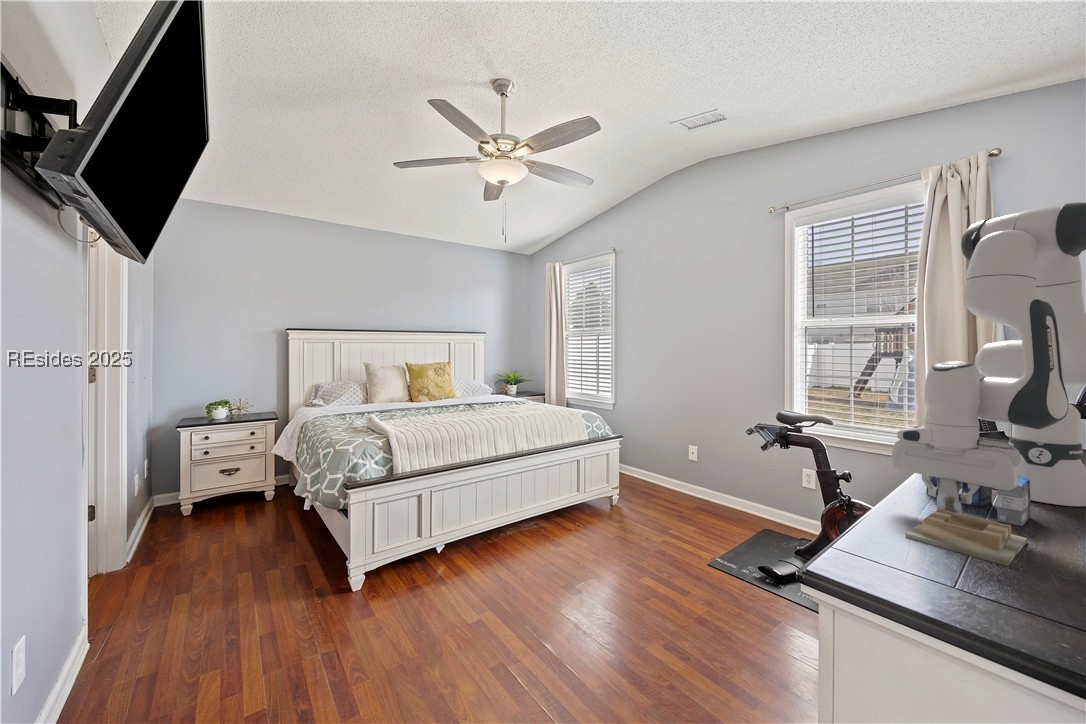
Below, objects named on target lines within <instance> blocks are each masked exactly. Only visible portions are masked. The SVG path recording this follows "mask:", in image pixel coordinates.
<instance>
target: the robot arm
mask: <svg viewBox="0 0 1086 724" xmlns="http://www.w3.org/2000/svg"><path fill="white" fill-rule="evenodd" d="M960 244H961V247H960V248H961V251H962V252H961V253H962V255H963V256H964V257H965V259H966V260H967V261H969V264H968V266H967V270H966V273H965V275H966V276H965V279H964V280H965V282H964V286H963V292H962V293H963V294H962V299H963V300H962V301H963V305H964V306H965V307H966V309H967V310H968V311H969V312H970V313H971V314H972V315H974V316H975V317H977V318H980V319H982V320H985V321H988V322H992V323H994V324H995V323H996V324H999V325H1003V326H1006V327H1009V328H1011V329H1013V330H1015V331H1016V332H1017V333H1018V335H1019V336H1020V339H1008V340H1001V341H1000V340H999V341H995V342H994V341H993V342H989V343H986V344H984V345H983V346H981V347H980V349H979V350H978V351H977V352H976V354H975V358H974V362H971V361H966V360H965V361H964V360H951V361H942V362H937V363H934V364H932V365H931V366H930V367H929V368H928V371H927V374H926V378H925V382H924V383H925V385H924V405H925V408H926V412H925V415H924V418H923V419H924V420H923V425H916V426H910V427H906V428H902V429H899V430H898V431H897V433H896V437H897V439H898V440H897V441H896V442H894V444H893V446H892V452H891V459H890V463H891V466H892V467H893V469H894V470H896V471H902V472H906V473H913V474H918V475H921V481H922V482H923V483H924V485H925V487H926V489H927V488H928V494H927V495H928V496H931V497H936V498H937V487H934V485H933V484H932V482H931V479H932V478H933V477H938V478H946V479H952V480H955V481H960V482H965V483H968V488H972V489H971V490H970V491H969V492H968V493H962V494H960V498H961V499H960V502H962V504H963V503H967V504H971V503H972V495H973V494H974V493H975V492H976V491H977V490H978V489H979V487H980V485H981V486H986V487H992V489H996V490H997V489H1002V490H1008V491H1009V490H1012V489H1014V488H1016V487H1017V486H1018V475H1020V476H1022V477H1025V478H1027V479H1029V480H1030V501H1035V502H1039V503H1045V504H1049V505H1051V504H1052V505H1058V506H1067V507H1086V465H1085V464H1084V463H1083V462H1082V460H1081V459H1083V453H1084V449H1083V444H1082V443H1080V442H1081V422H1082V421H1081V419H1082V418H1081V417H1082V416H1081V413H1080V412H1079V410H1078V409H1077V407H1075V406H1074V405H1072V404H1071V403H1069V398H1068V394H1067V390H1066V386H1078V387H1080V386H1081V387H1083V386H1085V387H1086V311H1085V305H1084V299H1083V297H1084V296H1083V285H1082V283H1083V282H1082V281H1083V280H1082V279H1083V278H1082V267H1081V265H1082V264H1081V261H1080V255H1081V253H1082V252H1084V251H1086V202H1070V203H1069V202H1068V203H1065V204H1062V205H1053V206H1046V207H1037V208H1031V209H1027V210H1026V209H1025V210H1023V211H1020V212H1014V213H1011V214H1007V215H1003V216H998V217H995V218H992V219H991V218H987V219H986V218H985V219H983V220H980V221H977V222H975V223H973V224H971V225H970V226H968V228H967V229H966V230H965V231H964V233H963V235H962V237H961V243H960ZM979 419H980V420H983V421H989V422H990V421H991V422H998V423H1002V424H1003V423H1004V424H1005V423H1006V424H1010V425H1011V427H1012V428H1011V431H1012V432H1011V436H1009V440H1008V442H1007V443H1006V442H995V441H990V440H983V439H980V421H979ZM967 504H966V505H967Z"/></svg>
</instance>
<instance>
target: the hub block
mask: <svg viewBox="0 0 1086 724" xmlns="http://www.w3.org/2000/svg"><path fill="white" fill-rule="evenodd" d="M905 538H909V539H912V540H915V541H918V542H922V543H926V544H928V545H929V544H930V545H932V546H936V547H940V548H944V549H946V550H950V551H953V552H957V553H960V554H964V555H967V556H971V557H974V558H977V559H981V560H985V561H988V562H992V563H995V564H999V565H1003V566H1006V567H1009V565H1010V564H1011V563H1012V561H1013V560H1014V559H1015V558H1016V556H1017V555H1019V553H1020V551H1021V550H1022V549H1023V548H1024V546H1025V545H1026V544H1027V543H1028V538H1027V537H1025V536H1019V535H1016V534H1012V524H1007V523H1003V522H999V521H998V522H997V521H993V520H989V519H984V518H980V517H976V516H971V515H967V514H963V513H962V514H959V513H955V512H950V511H946V510H942V509H938V510H937V509H936V511H934V512H932V513H931V514H929V515H928V516H926V517H925V518H923V519H922V520H921V522H920V523H918V524H917V525H916V526H914V527H912V528H911V529H909V530H908V531H906V532H905Z"/></svg>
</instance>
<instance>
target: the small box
mask: <svg viewBox="0 0 1086 724" xmlns="http://www.w3.org/2000/svg"><path fill="white" fill-rule="evenodd" d="M931 482H932V484H933V485H934V487H937V477H933V478H932V479H931ZM971 489H972V488H968V483H965V482H962V493H968V492H969V491H970V490H971ZM925 494H926V495H928V488H927V487H926V493H925ZM992 495H993V488H992V487H986V486H981V485H980V487H979V489H978V490H977V491H976V492H975V493H974V494H973V495H972V503H971V504H967V503H962V505H968V506H970V507H974V508H984V507H986V506H991V505H992V504H993V501H992V500H993V496H992Z"/></svg>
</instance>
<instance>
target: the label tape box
mask: <svg viewBox="0 0 1086 724" xmlns="http://www.w3.org/2000/svg"><path fill="white" fill-rule="evenodd" d="M996 492H997V493H996V495H997V496H996V499H997V500H996V501H997V502H996V503H997V505H996V508H997V509H996V510H997V521H998V522H999V523H1003V524H1007V525H1014V526H1018V527H1019V526H1020V527H1023V526H1024V525H1025V523H1026V522H1028V520H1029V519H1030V517H1031V500H1030V480H1029V479H1027V478H1025V477H1022V476H1020V475H1018V486H1017V487H1016V488H1014V489H1012V490H1009V491H1008V490H1002V489H996Z"/></svg>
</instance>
